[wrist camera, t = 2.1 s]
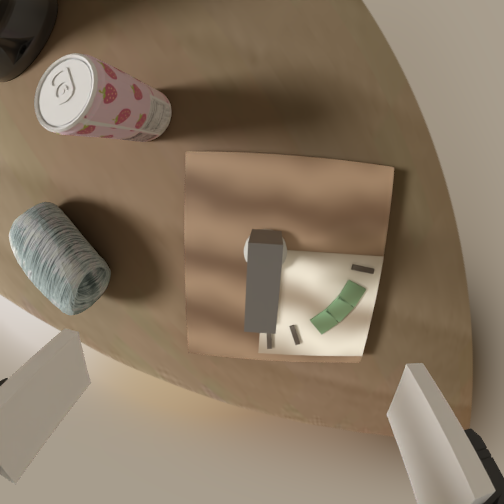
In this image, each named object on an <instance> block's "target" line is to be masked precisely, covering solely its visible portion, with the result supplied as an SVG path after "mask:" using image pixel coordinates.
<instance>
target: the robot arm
mask: <svg viewBox="0 0 504 504" xmlns="http://www.w3.org/2000/svg"><path fill="white" fill-rule="evenodd" d="M57 10H58V3H57V0H0V82H5V81H9V80H11V79H13V78H15V77H17V76H18V75H19V74H21V73H22V72H23V71H24V70H25V69H26V68H27V67H28V66H29V65H30V64H31V63H32V62H33V61H34V59H35V58H36V57H37V55H38V54H39V53H40V51H41V50H42V48H43V46H44V45H45V43H46V41H47V39H48V37H49V35H50V33H51V31H52V29H53V26H54V23H55V20H56V16H57ZM90 383H91V382H90V378H89V375H88V371H87V367H86V363H85V359H84V355H83V350H82V346H81V341H80V336H79V332H77V331H73V330H69V329H64V330H62V331H61V332H60V333H59V334H58V335H57V336H55V337H54V338H53V339H52V340H51V341H50V342H49V343H47V344H46V345H45V346H44V347H43V348H42V349H41V350H39V351H38V352H37V353H36V354H35V355H34V356H33V357H32V358H30V359H29V360H28V361H27V362H26V363H25V364H24V365H23V366H22V367H21V368H20V369H18V370H17V371H16V372H15V373H14V374H13V375H12V376H11V377H10V378H9V379H8V378H5V379H3V380H1V381H0V474H1V475H2V476H3V477H5V478H6V479H8V480H9V481H11V482H12V483H14V484H16V483H17V482H18V480H19V479H20V477H21V476H22V474H23V473H24V472H25V470H26V469H27V467H28V466H29V465H30V463H31V462H32V460H33V459H34V458H35V456H36V455H37V453H38V452H39V451H40V449H41V448H42V447H43V445H44V444H45V443H46V441H47V440H48V438H49V437H50V436H51V434H52V433H53V432H54V430H55V429H56V428H57V426H58V425H59V424H60V422H61V421H62V420H63V418H64V417H65V416H66V414H67V413H68V412H69V411H70V409H71V408H72V407H73V405H74V404H75V403H76V401H77V400H78V399H79V398H80V396H81V395H82V394H83V392H84V391H85V390H86V389H87V387H88V386H89V385H90ZM387 417H388V419H389V422H390V425H391V427H392V430H393V433H394V436H395V438H396V441H397V444H398V447H399V449H400V453H401V455H402V458H403V461H404V464H405V467H406V470H407V473H408V476H409V479H410V482H411V485H412V488H413V492H414V495H415V498H416V501H417V504H504V478H503V476H502V474H501V472H500V470H499V468H498V466H497V465H496V463H495V461H494V459H493V458H491V454H490V452H489V450H488V449H486V448H487V447H486V445H485V443H484V442H483V440H482V438H481V437H480V436H479V435H478V434H477V433H475V432H474V431H473V430H472V429H467V430H463V428H462V426H461V425H460V423H459V421H458V419H457V418H456V416H455V414H454V413H453V411H452V409H451V408H450V406H449V404H448V403H447V401H446V399H445V398H444V396H443V394H442V393H441V391H440V390H439V388H438V386H437V385H436V383H435V382H434V380H433V378H432V377H431V375H430V374H429V372H428V371H427V369H426V368H425V366H424V364H423V363H415V364H406V366H405V369H404V372H403V375H402V377H401V380H400V383H399V385H398V388H397V390H396V393H395V396H394V398H393V400H392V403H391V405H390V408H389V410H388V412H387Z"/></svg>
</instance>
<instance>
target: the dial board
mask: <svg viewBox="0 0 504 504" xmlns="http://www.w3.org/2000/svg"><path fill="white" fill-rule="evenodd" d="M393 177H394V167H389V166H383V165H376V164H369V163H361V162H353V161H345V160H336V159H327V158H317V157H306V156H294V155H280V154H264V153H243V152H206V151H186V159H185V200H184V255H185V296H186V320H187V339H188V353H194V354H202V355H211V356H221V357H232V358H243V359H257V360H273V361H293V362H360V361H361V357H362V354H363V351H364V347H365V343H366V339H367V335H368V331H369V327H370V323H371V318H372V314H373V310H374V305H375V300H376V296H377V291H378V286H379V280H380V275H381V270H382V264H383V258H384V257H383V256H384V250H385V244H386V237H387V230H388V223H389V215H390V207H391V198H392V188H393ZM252 229H271V230H275V231H282V237H283V239H284V240H285V243H286V247H287V256H286V259H285V262H284V263H283V264H282V269H281V281H280V292H279V303H278V314H277V324H276V334H269V333H254V332H244V320H245V298H246V277H247V262H246V260H245V257H244V246H245V243H246V240H247V239H248V237H249V236H250V234H251V231H252Z"/></svg>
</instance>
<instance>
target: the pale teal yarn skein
mask: <svg viewBox="0 0 504 504" xmlns="http://www.w3.org/2000/svg"><path fill="white" fill-rule="evenodd" d="M9 240H10V244H11V248H12V250H13V253H14V255H15V257H16V260H17V262H18V263H19V265H20V266H21V267H22V269H23V270H24V272H25V274H26V275H27V276H28V278H29V279H30V280H31V281H32V283H33V284H34V285H35V286H36V287H37V288H38V289H39V290H40V291H41V292H42V293H43V295H44V296H46V297H47V298H48V299H49V300H50V301H51V302H52V303H53V304H54V305H55V306H56V307H58V308H59V309H60V310H61V311H62V312H63V313H65V314H68V315H76V314H79V313H81V312H83V311H85V310H86V309H88V308H89V307H91V306H92V305H93V304H94V303H95V302H96V301H97V300H98V299H99V298H100V296H101V295H102V294H103V293H104V291H105V290H106V288H107V286H108V283H109V280H110V276H111V270H110V269H109V267H108V265H107V263H106V262H105V260H104V259H103V258H102V257H100V256H99V255H98V253H97V252H96V250H95V249H94V248H93V247H92V246H91V245H90V244H89V242H88V241H87V240H86V239H85V238H84V237H83V235H82V234H81V233H80V232H79V230H78V229H77V228H76V227H75V226H74V224H73V223H72V222H71V221H70V219H69V218H68V217H67V216H66V215H65V214H64V212H63V211H62V210H61V209H60V208H59V207H58V206H57V205H55V204H53V203H50V202H43V203H40V204H37V205H36V206H34V207H32V208H30V209H29V210H27V211H26V212H25V213H23V214H22V215H20V216H19V217H18V218H17V219H16V220H15V221H14V223H13V225H12V227H11V229H10V233H9Z"/></svg>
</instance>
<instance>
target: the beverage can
mask: <svg viewBox="0 0 504 504" xmlns="http://www.w3.org/2000/svg"><path fill="white" fill-rule="evenodd" d="M34 106H35V113H36V116H37V118H38V120H39V122H40V124H41V125H42V126H43V127H44V128H45V129H47V130H49V131H51V132H54V133H57V134H61V135H75V136H89V137H101V138H112V139H122V140H131V141H141V142H146V141H151V140H153V139H156V138H157V137H159V136H160V135H161V134H162V133H163V132H164V131H165V130H166V128H167V127H168V125H169V122H170V119H171V105H170V102H169V100H168V99H167V97H166V96H165V95H164V94H163V93H161V92H160V91H158V90H156V89H154V88H152V87H151V86H149V85H147V84H145V83H143V82H141V81H139V80H138V79H136V78H134V77H132V76H130V75H128V74H126V73H124V72H122V71H120V70H119V69H117V68H115V67H113V66H111V65H109V64H107V63H105V62H103V61H101V60H99V59H96V58H94V57H92V56H89V55H84V54H76V53H74V54H69V55H66V56H64V57H62V58H60V59H58V60H57V61H55V62H54V63H53V64H52V65H51V66H50V67H49V68H48V69H47V70H46V71H45V73H44V74H43V76H42V78H41V79H40V81H39V84H38V86H37V89H36V93H35V101H34Z"/></svg>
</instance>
